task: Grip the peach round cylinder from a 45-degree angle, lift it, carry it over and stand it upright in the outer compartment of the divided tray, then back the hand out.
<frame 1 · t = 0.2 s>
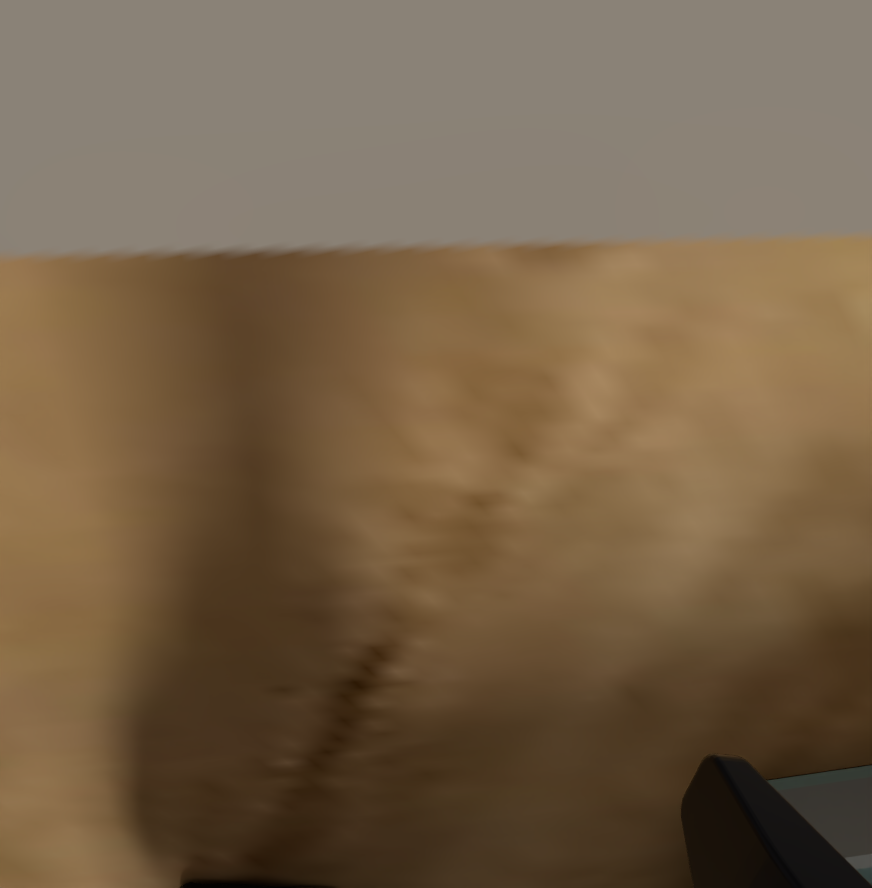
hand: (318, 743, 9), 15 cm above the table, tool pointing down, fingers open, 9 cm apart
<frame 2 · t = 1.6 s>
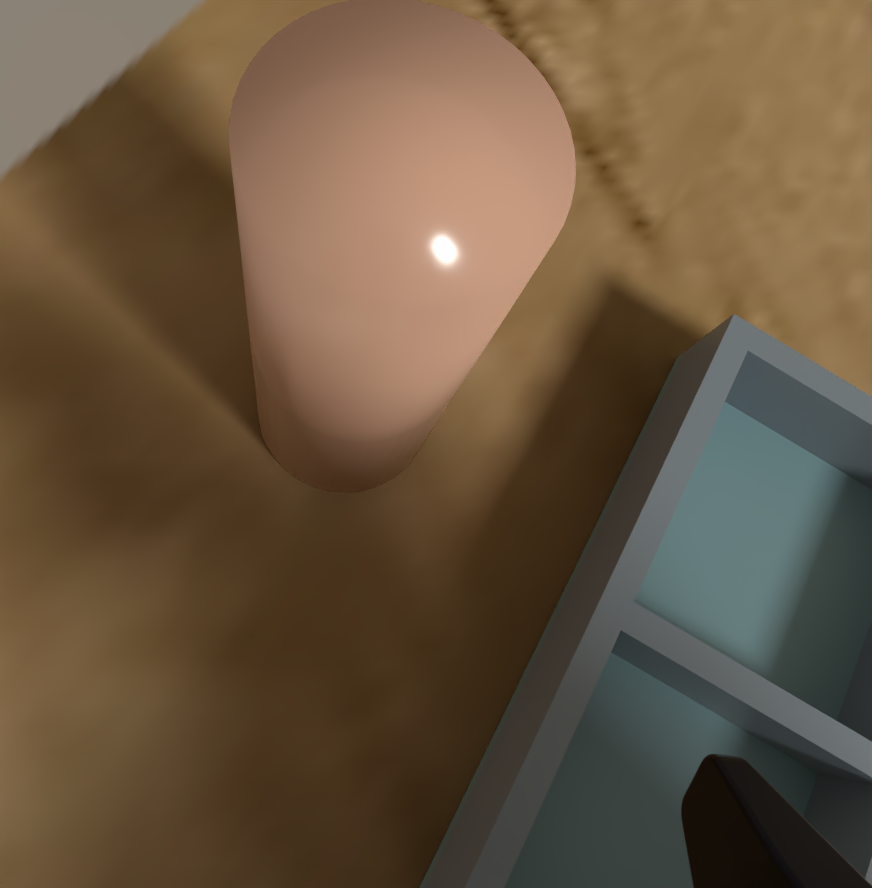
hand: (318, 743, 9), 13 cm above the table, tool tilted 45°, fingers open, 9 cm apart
divided tray: (749, 559, 25), on the table
peach round cylinder: (344, 409, 24), on the table
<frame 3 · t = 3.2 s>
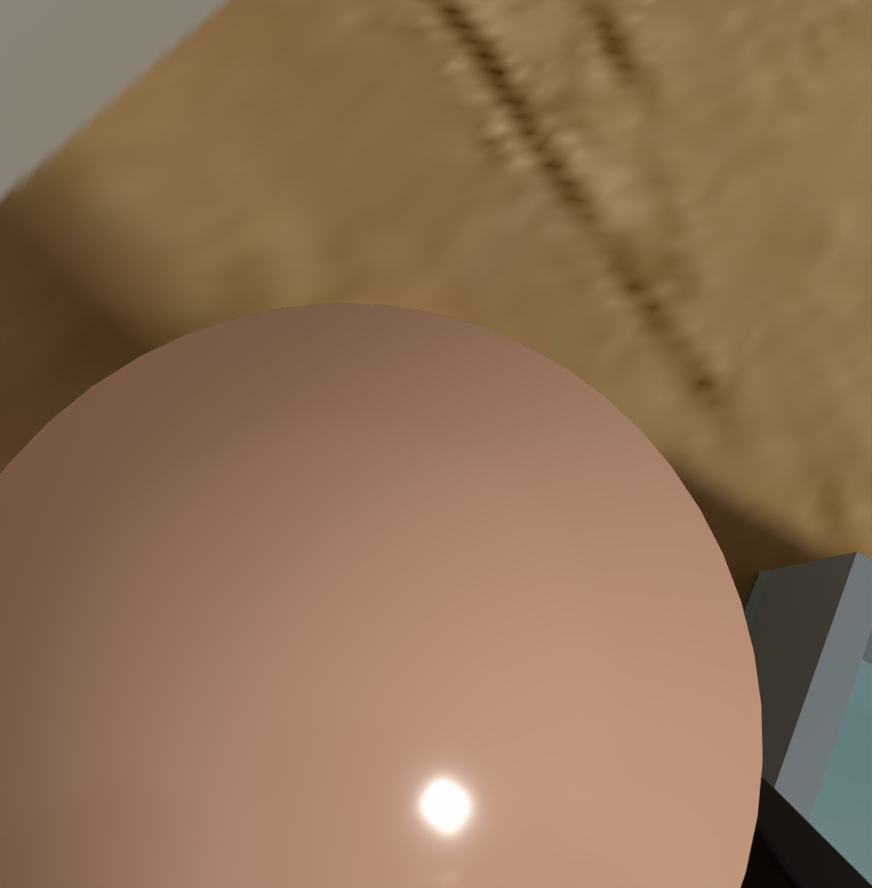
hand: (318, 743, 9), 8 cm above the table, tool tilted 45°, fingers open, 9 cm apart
divided tray: (869, 866, 18), on the table
peach round cylinder: (305, 677, 17), on the table
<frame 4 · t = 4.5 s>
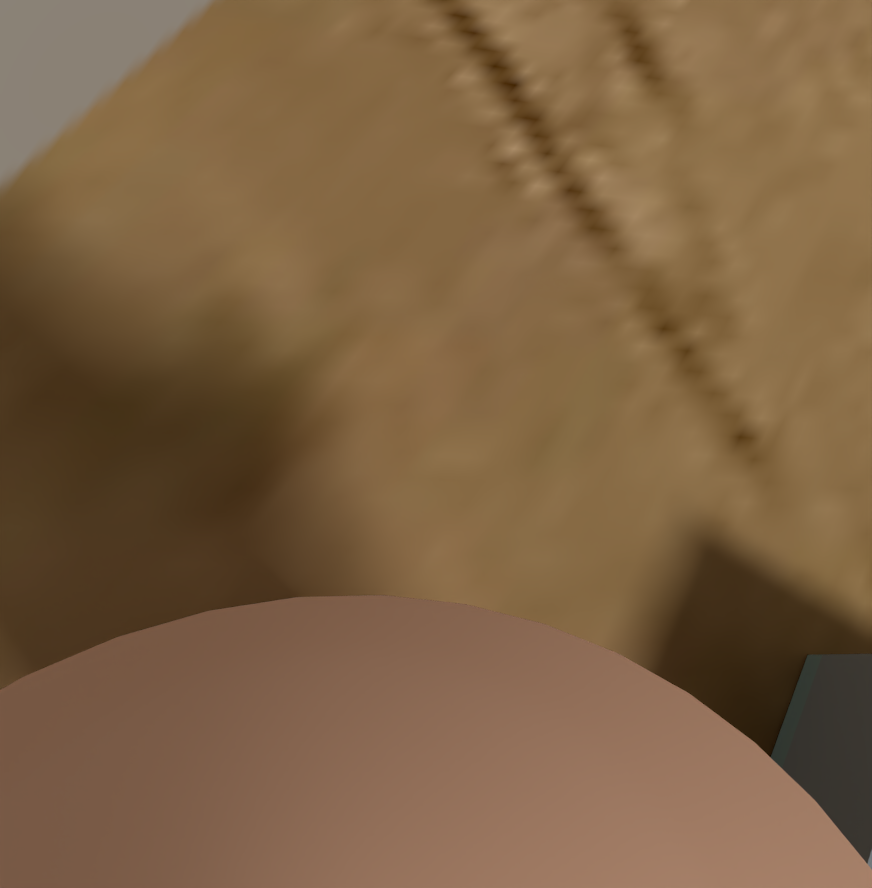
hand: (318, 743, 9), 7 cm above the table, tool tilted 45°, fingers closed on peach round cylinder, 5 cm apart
peach round cylinder: (292, 789, 15), on the table, touching gripper
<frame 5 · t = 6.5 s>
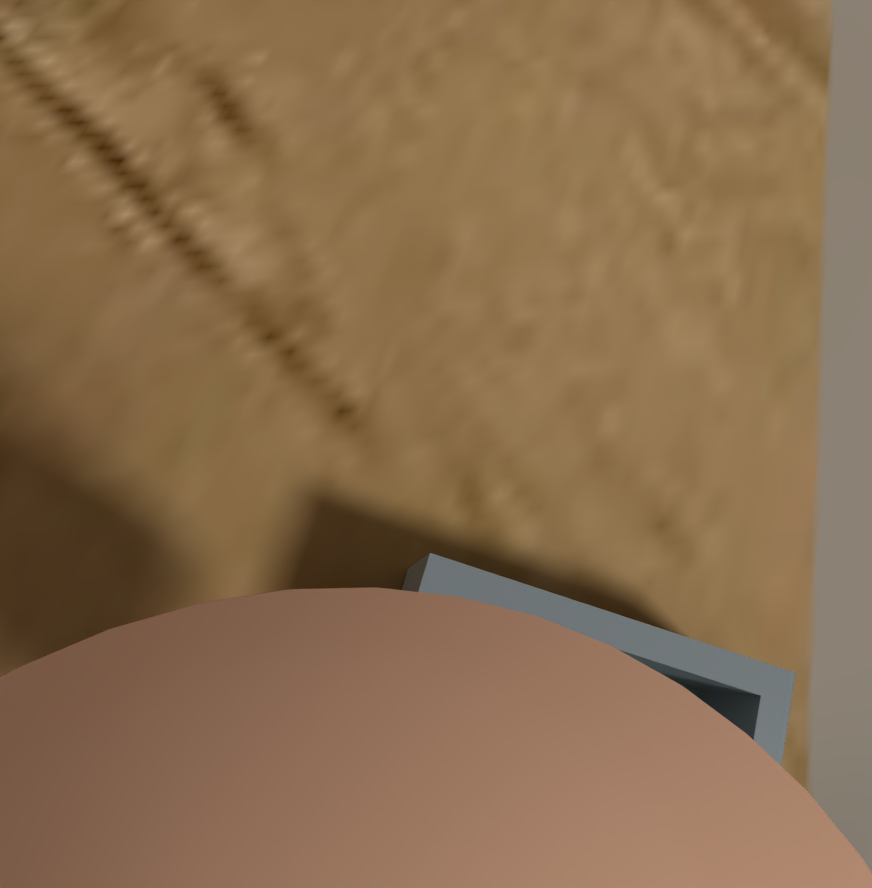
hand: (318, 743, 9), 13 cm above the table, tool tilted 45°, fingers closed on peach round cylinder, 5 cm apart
divided tray: (526, 796, 22), on the table
peach round cylinder: (291, 787, 15), point 6 cm above the table, touching gripper
when the fingers open (8 cm above the table, at t = 8.5 s): peach round cylinder stays where it is, resting on divided tray.
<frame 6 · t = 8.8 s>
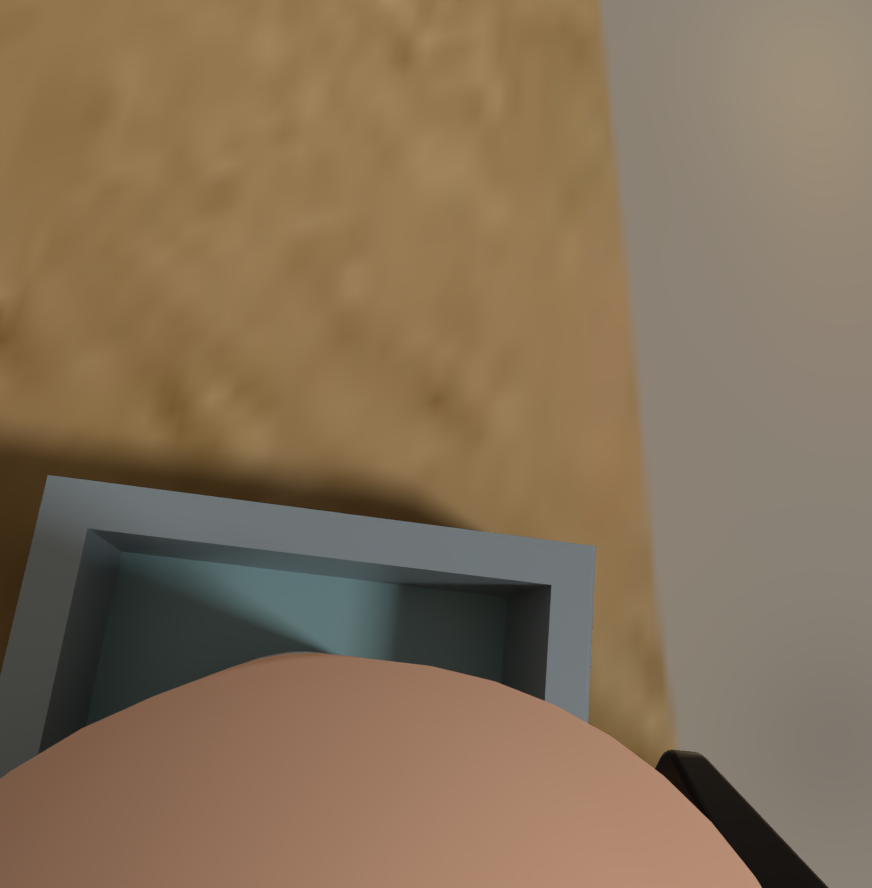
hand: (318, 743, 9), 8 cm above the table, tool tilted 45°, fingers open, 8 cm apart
divided tray: (292, 778, 16), on the table
peach round cylinder: (292, 784, 16), point 1 cm above the table, touching divided tray
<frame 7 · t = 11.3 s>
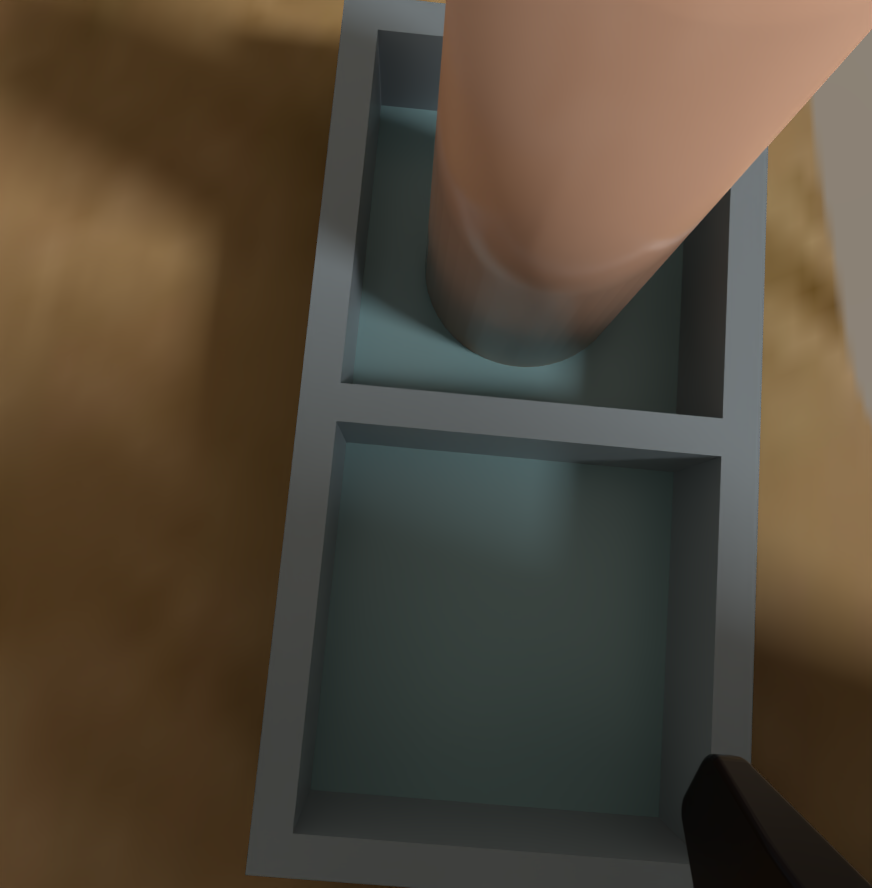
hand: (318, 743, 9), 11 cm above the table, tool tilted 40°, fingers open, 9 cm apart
divided tray: (521, 275, 21), on the table
peach round cylinder: (524, 269, 20), point 1 cm above the table, touching divided tray
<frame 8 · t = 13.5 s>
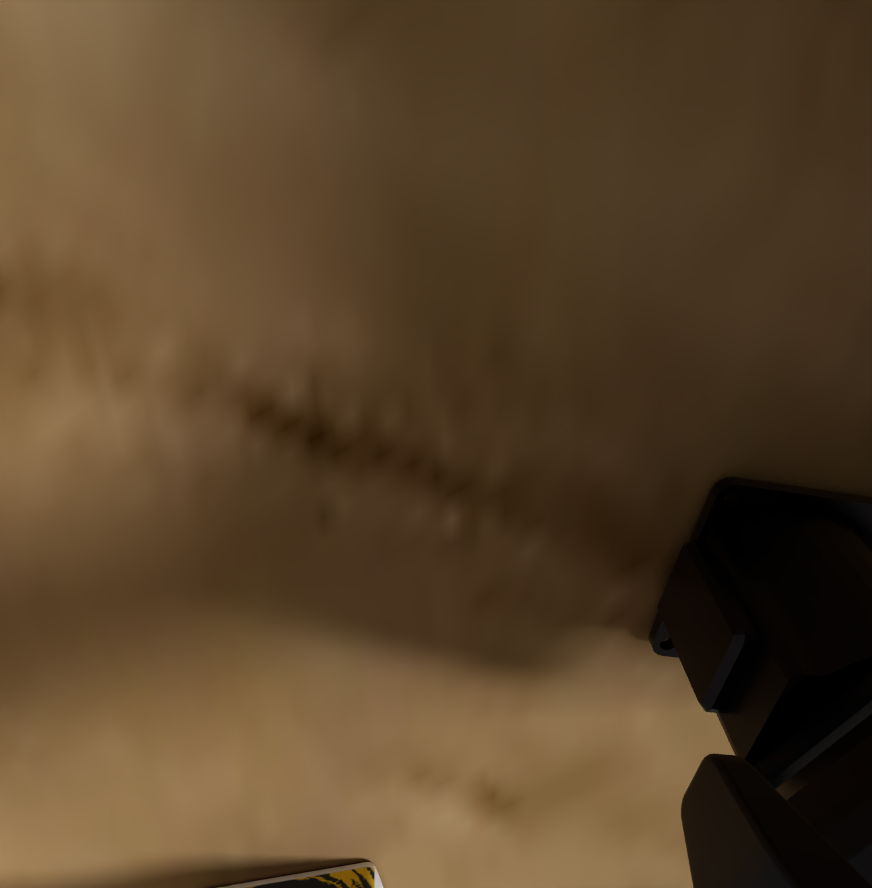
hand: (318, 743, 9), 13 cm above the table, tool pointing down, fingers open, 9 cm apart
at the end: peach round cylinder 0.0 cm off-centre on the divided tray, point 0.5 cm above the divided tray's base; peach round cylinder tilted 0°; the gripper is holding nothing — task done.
